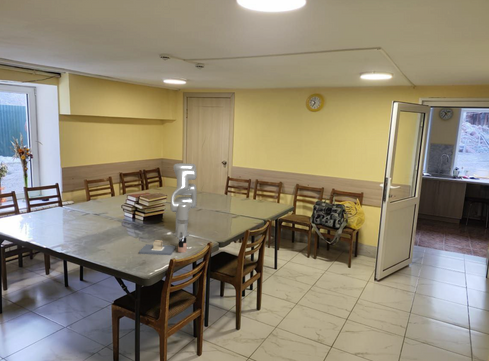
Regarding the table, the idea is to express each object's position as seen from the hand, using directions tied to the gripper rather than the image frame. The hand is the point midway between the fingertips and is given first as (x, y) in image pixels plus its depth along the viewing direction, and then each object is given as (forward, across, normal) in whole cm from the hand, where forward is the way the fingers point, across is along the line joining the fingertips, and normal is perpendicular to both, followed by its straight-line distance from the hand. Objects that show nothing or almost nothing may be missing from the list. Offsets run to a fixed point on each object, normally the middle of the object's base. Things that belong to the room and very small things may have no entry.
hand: (182, 245), depth 237 cm
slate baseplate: (+4, +1, -17) cm, 18 cm away
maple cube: (+3, +1, -17) cm, 17 cm away
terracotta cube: (+5, -1, 0) cm, 5 cm away
